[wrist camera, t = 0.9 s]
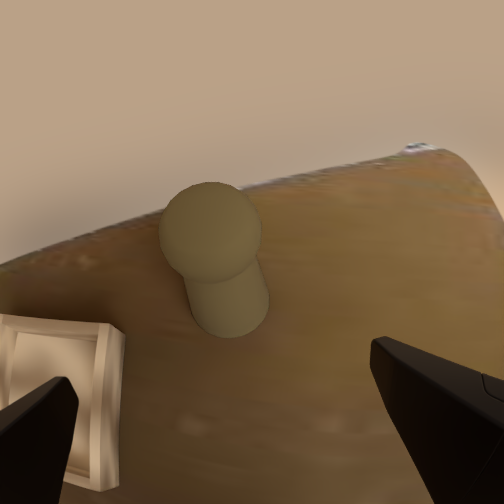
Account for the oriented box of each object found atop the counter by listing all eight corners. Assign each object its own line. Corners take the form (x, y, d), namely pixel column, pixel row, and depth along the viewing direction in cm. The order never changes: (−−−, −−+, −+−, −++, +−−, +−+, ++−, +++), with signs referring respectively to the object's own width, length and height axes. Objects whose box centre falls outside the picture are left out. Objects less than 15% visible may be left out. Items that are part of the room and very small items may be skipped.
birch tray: (119, 486, 17) (100, 491, 14) (5, 448, 17) (-17, 446, 15) (126, 335, 23) (109, 323, 20) (17, 325, 23) (-2, 313, 21)
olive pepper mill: (264, 260, 26) (262, 158, 16) (274, 333, 23) (279, 262, 13) (189, 268, 26) (148, 172, 16) (191, 341, 23) (136, 276, 13)
